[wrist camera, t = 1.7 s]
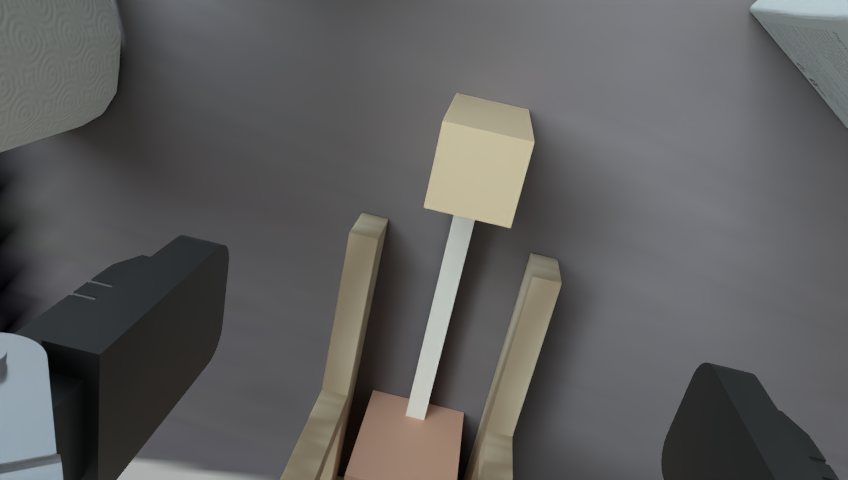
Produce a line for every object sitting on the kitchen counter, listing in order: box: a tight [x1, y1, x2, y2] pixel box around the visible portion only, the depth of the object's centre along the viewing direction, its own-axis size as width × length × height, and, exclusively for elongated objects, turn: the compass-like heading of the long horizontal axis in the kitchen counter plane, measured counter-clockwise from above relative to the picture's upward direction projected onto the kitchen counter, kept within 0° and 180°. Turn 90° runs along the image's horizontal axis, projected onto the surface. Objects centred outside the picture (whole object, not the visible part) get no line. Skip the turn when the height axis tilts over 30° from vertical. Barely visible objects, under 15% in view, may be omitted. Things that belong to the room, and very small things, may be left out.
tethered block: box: [344, 93, 535, 480], centre depth 27 cm, size 5×20×6 cm, turn 168°
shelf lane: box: [280, 213, 562, 480], centre depth 27 cm, size 9×16×10 cm, turn 168°
